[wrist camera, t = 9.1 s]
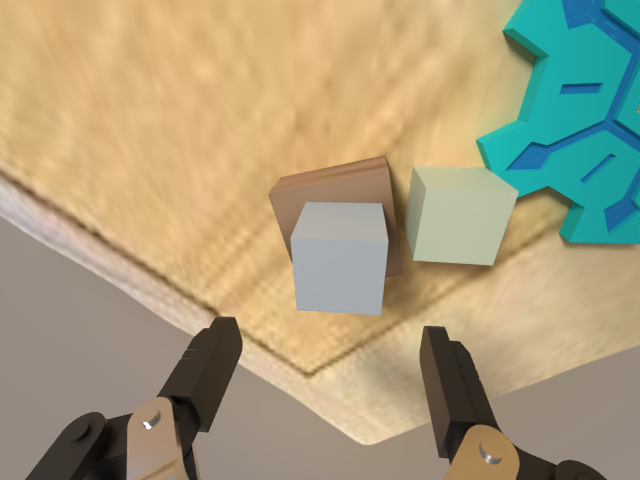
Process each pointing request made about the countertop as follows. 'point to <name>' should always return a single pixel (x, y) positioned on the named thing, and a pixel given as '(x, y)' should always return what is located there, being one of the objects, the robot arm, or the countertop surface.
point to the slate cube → (340, 257)
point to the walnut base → (339, 198)
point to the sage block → (457, 214)
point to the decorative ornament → (578, 115)
